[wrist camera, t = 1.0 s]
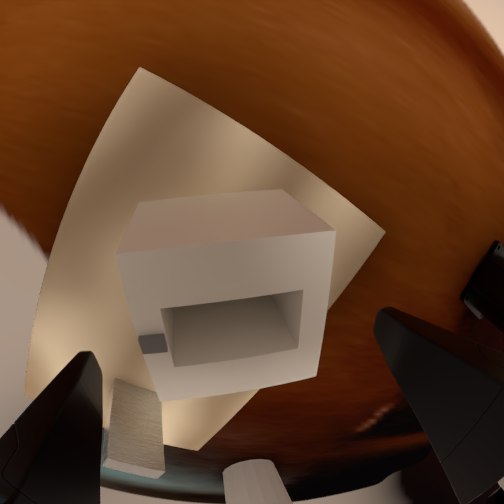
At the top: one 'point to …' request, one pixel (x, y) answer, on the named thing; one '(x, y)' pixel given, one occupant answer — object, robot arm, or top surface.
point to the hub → (227, 290)
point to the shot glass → (254, 483)
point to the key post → (133, 431)
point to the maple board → (119, 215)
